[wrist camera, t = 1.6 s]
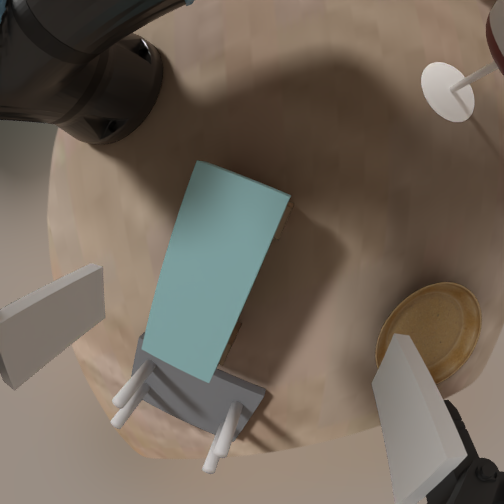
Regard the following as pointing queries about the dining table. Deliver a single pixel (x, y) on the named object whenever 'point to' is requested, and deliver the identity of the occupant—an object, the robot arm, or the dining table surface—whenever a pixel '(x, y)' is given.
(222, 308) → the shelf board
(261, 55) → the dining table surface
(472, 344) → the plant saucer
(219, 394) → the peg stand
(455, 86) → the wineglass
